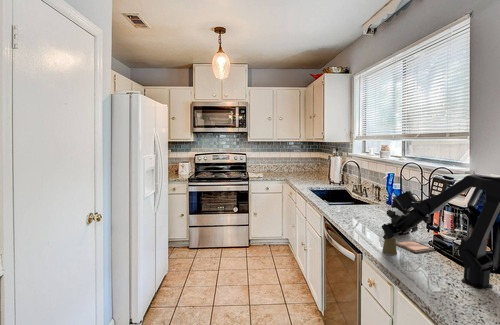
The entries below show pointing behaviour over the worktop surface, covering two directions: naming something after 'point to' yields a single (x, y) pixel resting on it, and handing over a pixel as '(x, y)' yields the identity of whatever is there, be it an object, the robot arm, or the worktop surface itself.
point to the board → (416, 246)
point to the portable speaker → (397, 205)
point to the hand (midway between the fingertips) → (387, 237)
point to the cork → (389, 246)
